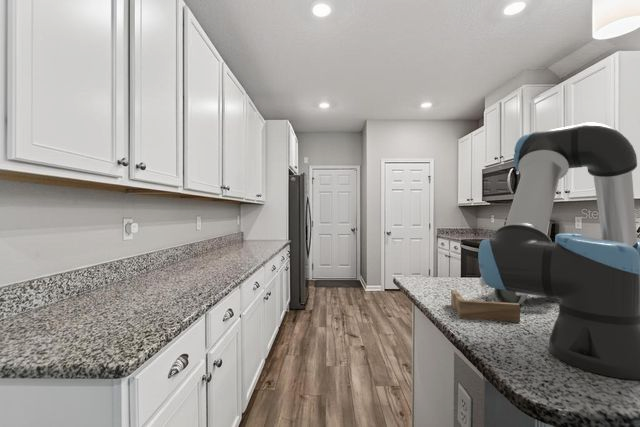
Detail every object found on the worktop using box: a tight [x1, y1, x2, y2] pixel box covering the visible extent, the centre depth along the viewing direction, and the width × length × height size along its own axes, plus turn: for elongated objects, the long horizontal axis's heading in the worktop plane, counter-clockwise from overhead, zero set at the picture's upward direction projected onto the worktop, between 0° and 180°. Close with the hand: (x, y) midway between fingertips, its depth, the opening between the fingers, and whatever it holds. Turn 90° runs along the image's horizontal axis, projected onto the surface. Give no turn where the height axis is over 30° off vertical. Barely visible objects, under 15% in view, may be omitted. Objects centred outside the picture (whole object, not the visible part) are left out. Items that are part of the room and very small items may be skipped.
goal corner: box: [450, 289, 521, 323], centre depth 88 cm, size 16×15×4 cm
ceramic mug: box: [486, 288, 529, 305], centre depth 95 cm, size 11×8×8 cm
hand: (497, 285), depth 94 cm, fingers open, 12 cm apart
